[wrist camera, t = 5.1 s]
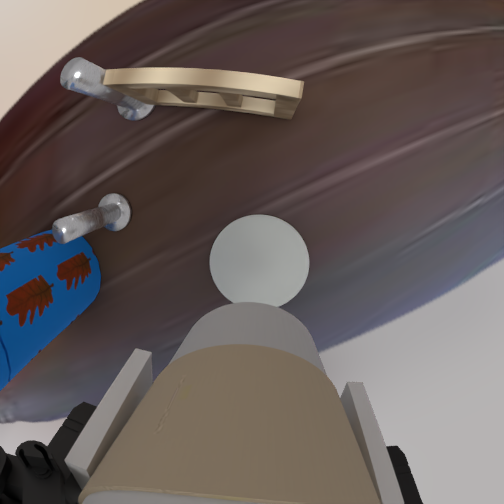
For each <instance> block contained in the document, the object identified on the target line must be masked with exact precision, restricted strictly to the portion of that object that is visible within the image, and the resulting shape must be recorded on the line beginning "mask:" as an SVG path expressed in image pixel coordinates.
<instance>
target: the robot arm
mask: <svg viewBox="0 0 504 504" xmlns="http://www.w3.org/2000/svg"><path fill="white" fill-rule="evenodd" d="M152 384H153V380H152V352H148V351H144V350H141V349H137V348H136V349H135V350H134V352H133V353H132V355H131V356H130V358H129V359H128V360H127V362H126V363H125V365H124V367H123V368H122V370H121V371H120V373H119V374H118V376H117V377H116V379H115V380H114V382H113V383H112V385H111V386H110V388H109V389H108V391H107V392H106V394H105V396H104V397H103V399H102V400H101V402H100V403H99V405H98V406H97V407H96V406H93V405H91V404H88V403H86V402H83V403H81V404H80V405H78V406H76V407H75V408H73V410H72V411H71V413H70V414H69V415H68V417H67V419H66V420H65V421H64V423H63V424H62V426H61V427H60V428H59V430H58V432H57V433H56V434H55V436H54V437H53V439H52V440H51V442H50V443H49V445H48V446H45V445H44V444H43V443H42V442H38V441H26V442H24V443H21V445H20V446H18V447H17V450H16V453H15V454H16V456H14V455H10V454H7V453H5V451H4V450H3V448H2V447H1V446H0V504H79V502H78V497H79V495H80V493H81V492H82V490H83V489H84V487H85V486H86V484H87V482H88V481H89V479H90V478H91V476H92V475H93V473H94V472H95V470H96V469H97V467H98V466H99V464H100V463H101V461H102V460H103V458H104V457H105V455H106V453H107V452H108V450H109V449H110V447H111V446H112V444H113V443H114V441H115V440H116V438H117V437H118V435H119V434H120V432H121V431H122V429H123V428H124V426H125V425H126V423H127V422H128V420H129V419H130V417H131V416H132V414H133V413H134V411H135V410H136V408H137V407H138V405H139V404H140V402H141V401H142V399H143V398H144V396H145V395H146V393H147V392H148V390H149V389H150V387H151V386H152ZM340 400H341V402H342V405H343V407H344V410H345V412H346V415H347V418H348V420H349V423H350V425H351V428H352V430H353V433H354V435H355V438H356V441H357V443H358V446H359V448H360V451H361V453H362V456H363V459H364V461H365V464H366V467H367V469H368V472H369V475H370V477H371V480H372V483H373V485H374V488H375V491H376V493H377V496H378V499H379V502H380V504H423V503H422V500H421V498H420V495H419V492H418V489H417V486H416V484H415V481H414V478H413V475H412V474H411V470H410V467H409V466H408V462H407V459H406V457H405V454H404V453H403V452H402V451H401V450H400V448H399V447H398V446H387V447H386V445H385V442H384V439H383V436H382V434H381V431H380V428H379V426H378V423H377V420H376V417H375V414H374V412H373V409H372V406H371V404H370V401H369V398H368V395H367V393H366V390H365V388H364V385H363V383H361V382H347V384H346V386H345V389H344V391H343V393H342V395H341V398H340Z"/></svg>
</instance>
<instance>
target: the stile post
mask: <svg viewBox="0 0 504 504" xmlns="http://www.w3.org/2000/svg"><path fill="white" fill-rule="evenodd" d="M131 216H132V208H131V205H130V202H129V201H128V199H127V198H126V197H125V196H123V195H122V194H119V193H112V194H108V195H106V196H105V197H103V199H102V200H101V201H100V203H99V206H98V207H97V208H93V209H90V210H87V211H83V212H80V213H77V214H74V215H70V216H67V217H64V218H61V219H58V220H56V221H55V222H54V224H53V227H52V233H53V236H54V238H55V240H56V241H57V242H58V243H60V244H65V243H67V242H69V241H71V240H74V239H76V238H78V237H80V236H83V235H85V234H87V233H90V232H92V231H94V230H97V229H99V228H101V227H105V228H106V229H108V230H111V231H118V230H121V229H123V228H125V227H126V226H127V225H128V224H129V222H130V220H131Z"/></svg>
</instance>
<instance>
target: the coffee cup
mask: <svg viewBox="0 0 504 504" xmlns="http://www.w3.org/2000/svg"><path fill="white" fill-rule="evenodd" d="M78 502H79V504H380V502H379V499H378V496H377V493H376V491H375V488H374V485H373V483H372V480H371V477H370V475H369V472H368V469H367V467H366V464H365V461H364V459H363V456H362V453H361V451H360V448H359V446H358V443H357V441H356V438H355V435H354V433H353V430H352V428H351V425H350V423H349V420H348V418H347V415H346V412H345V410H344V407H343V405H342V402H341V400H340V398H339V395H338V393H337V390H336V388H335V386H334V385H333V383H332V382H331V381H330V379H329V378H328V377H327V375H326V372H325V370H324V367H323V364H322V362H321V359H320V357H319V354H318V351H317V349H316V346H315V344H314V341H313V339H312V336H311V335H310V333H309V331H308V330H307V328H306V327H305V326H304V325H303V324H302V323H301V322H300V321H299V320H298V319H297V318H296V317H294V316H293V315H291V314H290V313H288V312H286V311H285V310H282V309H280V308H278V307H275V306H272V305H268V304H264V303H257V302H240V303H233V304H228V305H225V306H222V307H219V308H217V309H214V310H212V311H211V312H209V313H207V314H206V315H204V316H203V317H202V318H200V319H199V320H198V321H197V322H196V323H195V325H194V326H193V327H192V328H191V330H190V331H189V333H188V335H187V336H186V338H185V339H184V341H183V342H182V344H181V346H180V347H179V349H178V350H177V352H176V353H175V355H174V357H173V358H172V360H171V361H170V363H169V364H168V366H167V367H166V368H165V369H164V370H163V371H162V372H161V373H160V374H159V375H158V377H157V378H156V380H155V381H154V383H153V384H152V386H151V387H150V389H149V390H148V392H147V393H146V395H145V396H144V398H143V399H142V401H141V402H140V404H139V405H138V407H137V408H136V410H135V411H134V413H133V414H132V416H131V417H130V419H129V420H128V422H127V423H126V425H125V426H124V428H123V429H122V431H121V432H120V434H119V435H118V437H117V438H116V440H115V441H114V443H113V444H112V446H111V447H110V449H109V450H108V452H107V453H106V455H105V457H104V458H103V460H102V461H101V463H100V464H99V466H98V467H97V469H96V470H95V472H94V473H93V475H92V476H91V478H90V479H89V481H88V482H87V484H86V486H85V487H84V489H83V490H82V492H81V493H80V495H79V497H78Z"/></svg>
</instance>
